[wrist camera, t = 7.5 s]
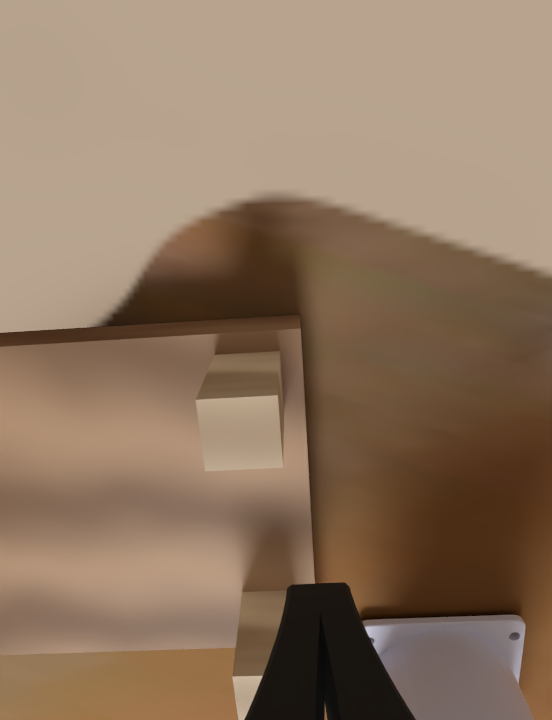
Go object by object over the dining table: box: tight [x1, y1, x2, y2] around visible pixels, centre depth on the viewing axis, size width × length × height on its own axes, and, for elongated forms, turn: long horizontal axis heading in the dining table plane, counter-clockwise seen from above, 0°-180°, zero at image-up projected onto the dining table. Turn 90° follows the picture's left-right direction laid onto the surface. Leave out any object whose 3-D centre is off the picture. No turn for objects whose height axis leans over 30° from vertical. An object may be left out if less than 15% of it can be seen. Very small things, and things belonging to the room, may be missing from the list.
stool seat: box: [0, 314, 315, 720], centre depth 20 cm, size 15×19×6 cm
